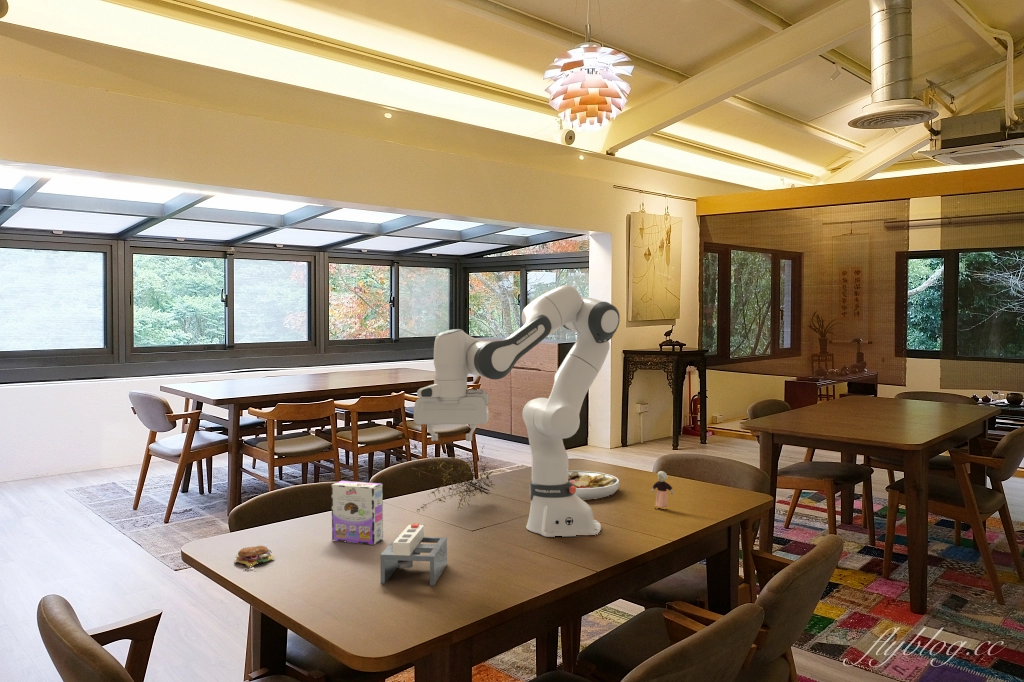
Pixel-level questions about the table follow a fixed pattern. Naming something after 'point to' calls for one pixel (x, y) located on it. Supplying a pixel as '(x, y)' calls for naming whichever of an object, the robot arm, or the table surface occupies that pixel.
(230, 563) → the table surface
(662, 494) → the grandmother figurine
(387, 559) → the grey stepped cutout plate
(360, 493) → the candy box
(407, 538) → the power strip
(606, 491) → the bowl
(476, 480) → the dried plant
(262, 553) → the hamburger
